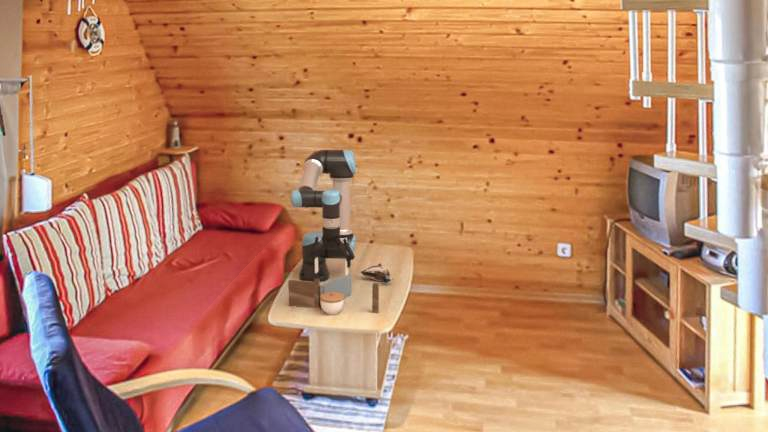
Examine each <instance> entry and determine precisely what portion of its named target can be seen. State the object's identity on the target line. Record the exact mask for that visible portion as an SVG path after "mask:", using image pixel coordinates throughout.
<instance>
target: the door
mask: <svg viewBox="0 0 768 432" xmlns="http://www.w3.org/2000/svg"><path fill="white" fill-rule="evenodd" d="M326 292H339V293H342V294H343V295H344V298H346V297H349V296H351V295H352V273H348V275H345V274H344V275H341V276H340V277H337V278H335V279H333V280H331V281H328V282H325V283H324V284H322V285H320V295H321V294H323V293H326ZM320 308H321V309H322V307H321V303H320ZM320 308H319V309H320Z"/></svg>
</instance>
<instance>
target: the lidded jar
mask: <svg viewBox="0 0 768 432" xmlns="http://www.w3.org/2000/svg"><path fill="white" fill-rule="evenodd" d="M320 303H321V307H322V308H321V310H322V311H323V312H324V313H325V314H326V315H330V316H336V315H338V314H339V313H340V312H341V311H342V310H343V308H344V305H345V297H344V295H343V294H342V293H339V292H326V293H323V294H321V295H320Z"/></svg>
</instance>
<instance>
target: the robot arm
mask: <svg viewBox="0 0 768 432" xmlns="http://www.w3.org/2000/svg"><path fill="white" fill-rule="evenodd" d="M302 171H303V173H302V176H301V180H300V183H299V186H298V189H293V190H292V191H291V194H290V203H291V204H290V205H291V206H292V208H293V207H294V208H320V209H321V210H322V216H321V217H322V218H321V220H322V221H321V222H322V228H321V229H322V231H321V230H317V231H316V230H315V231H310V232H307V233H305V234H304V235H303V236H302V239H301V240H302V241H301V247H302V248H301V250H302V251H301V253H302V256H301V257H302V263H301V264H302V265H301V267H300V270H299V273H298V275H299V276H298V277H299V280H301V281H314V279H315V278H317V279H320V283H322V282H325V281H328V279H330V271H329V268H328V265H327V263H326V262H327V259H337V260H340V259H341V260H342V259H343V260H344V261H345V262H344V264H345V266H344V270H345V271H344V275H348V274H349V269H350V267H351V265H352V263H351V262H352V260H354V259H355V257H356V256H355V249H356V241H357V235H355V234H354V230H352V229H351V181H352V180H353V179H354V175H356V174H357V163H356V157H355V152H353V151H352V150H348V149H319V150H317V151H314V152H313V153H311V154H310V155H309V156H308V157H307V158H306V159H305V160H304V162H303V165H302ZM323 174H325V175H328V174H329V179H330V180H331V182H332V188H331V189H329V190H328V189H327V190H316V189H317V186H318V181H319V178H320V175H323Z"/></svg>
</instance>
